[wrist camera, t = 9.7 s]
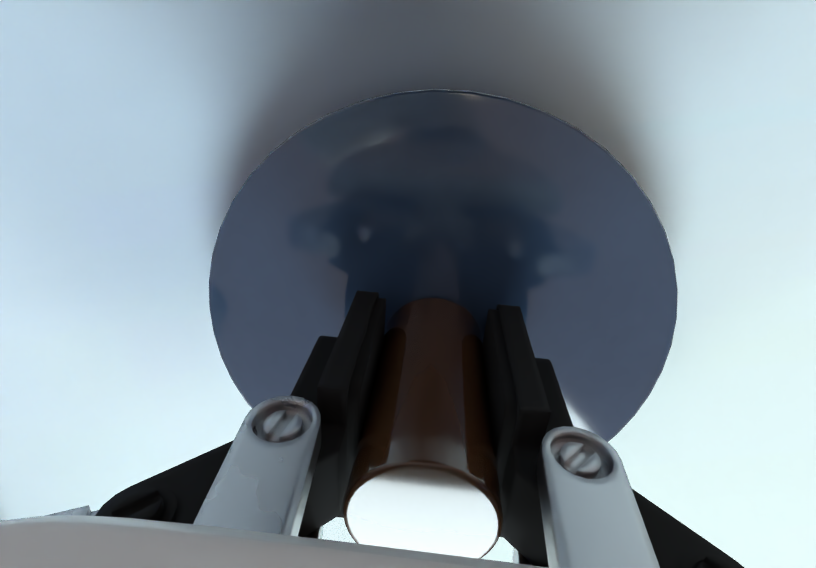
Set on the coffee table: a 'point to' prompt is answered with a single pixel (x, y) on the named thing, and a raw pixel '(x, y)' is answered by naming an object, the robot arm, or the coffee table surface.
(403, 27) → the coffee table surface
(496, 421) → the robot arm
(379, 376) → the lid
